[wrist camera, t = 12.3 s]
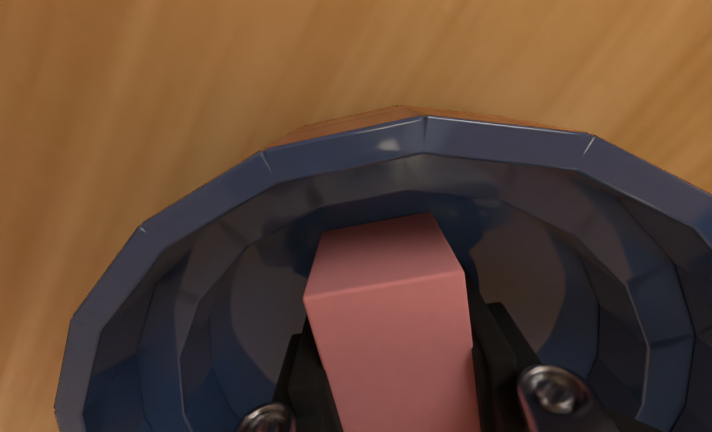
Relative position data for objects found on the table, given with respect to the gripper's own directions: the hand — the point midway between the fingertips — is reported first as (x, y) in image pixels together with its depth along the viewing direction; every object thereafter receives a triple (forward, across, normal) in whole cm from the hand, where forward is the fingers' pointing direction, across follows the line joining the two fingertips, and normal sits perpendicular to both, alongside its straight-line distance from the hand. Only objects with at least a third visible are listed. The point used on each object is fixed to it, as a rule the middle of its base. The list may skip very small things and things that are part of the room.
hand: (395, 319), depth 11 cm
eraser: (0, 0, 0) cm, 0 cm away
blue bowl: (+1, 0, +2) cm, 2 cm away
